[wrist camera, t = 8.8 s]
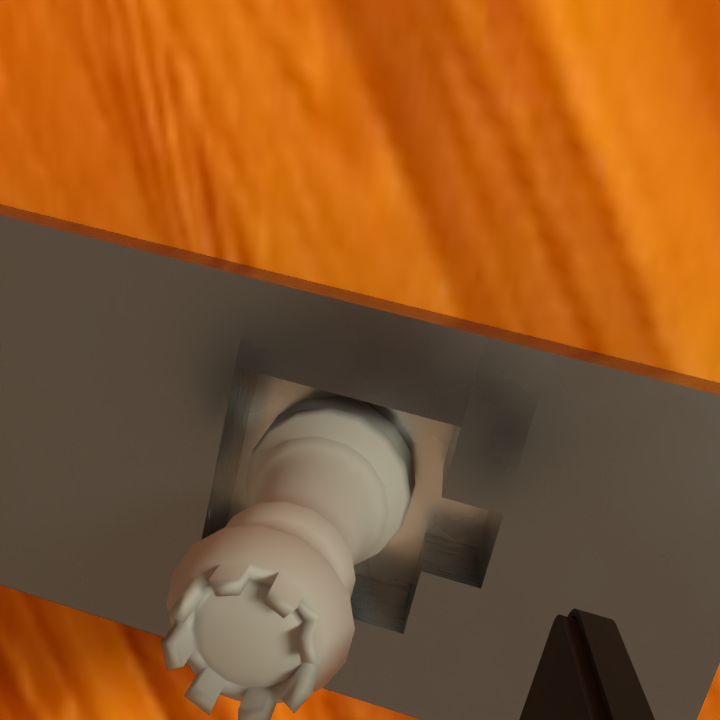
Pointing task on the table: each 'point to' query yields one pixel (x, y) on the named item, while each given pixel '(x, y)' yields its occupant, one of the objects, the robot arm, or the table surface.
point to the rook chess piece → (289, 559)
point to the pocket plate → (417, 428)
